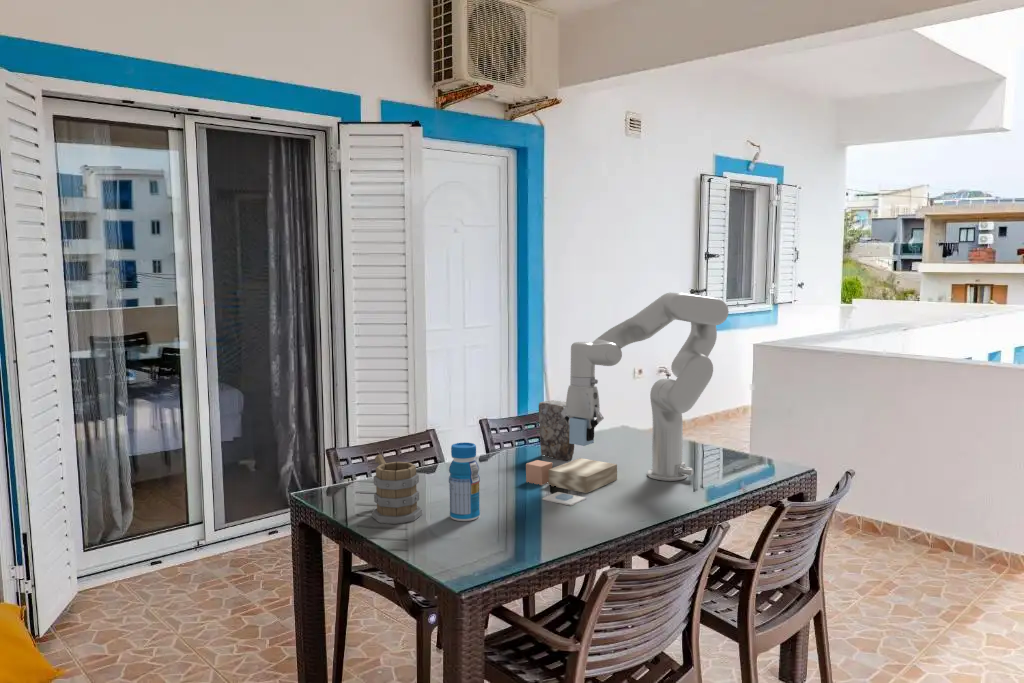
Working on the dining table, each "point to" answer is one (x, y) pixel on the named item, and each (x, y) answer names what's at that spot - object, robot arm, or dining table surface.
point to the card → (564, 498)
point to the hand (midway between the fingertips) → (581, 438)
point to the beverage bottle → (464, 483)
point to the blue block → (578, 432)
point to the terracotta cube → (538, 472)
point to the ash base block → (582, 475)
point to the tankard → (396, 492)
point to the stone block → (554, 431)
